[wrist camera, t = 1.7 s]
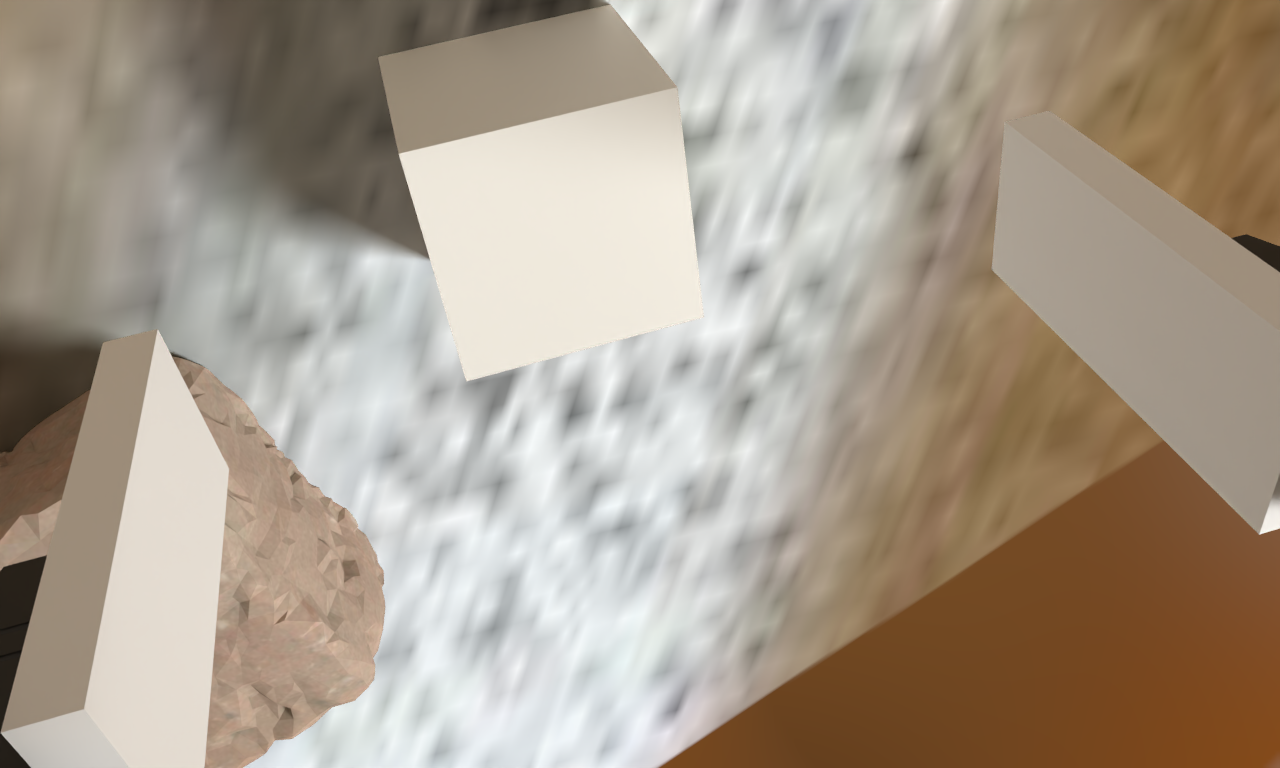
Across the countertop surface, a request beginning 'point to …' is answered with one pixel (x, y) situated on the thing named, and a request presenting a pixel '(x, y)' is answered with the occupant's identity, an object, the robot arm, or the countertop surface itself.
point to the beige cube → (547, 186)
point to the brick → (241, 573)
